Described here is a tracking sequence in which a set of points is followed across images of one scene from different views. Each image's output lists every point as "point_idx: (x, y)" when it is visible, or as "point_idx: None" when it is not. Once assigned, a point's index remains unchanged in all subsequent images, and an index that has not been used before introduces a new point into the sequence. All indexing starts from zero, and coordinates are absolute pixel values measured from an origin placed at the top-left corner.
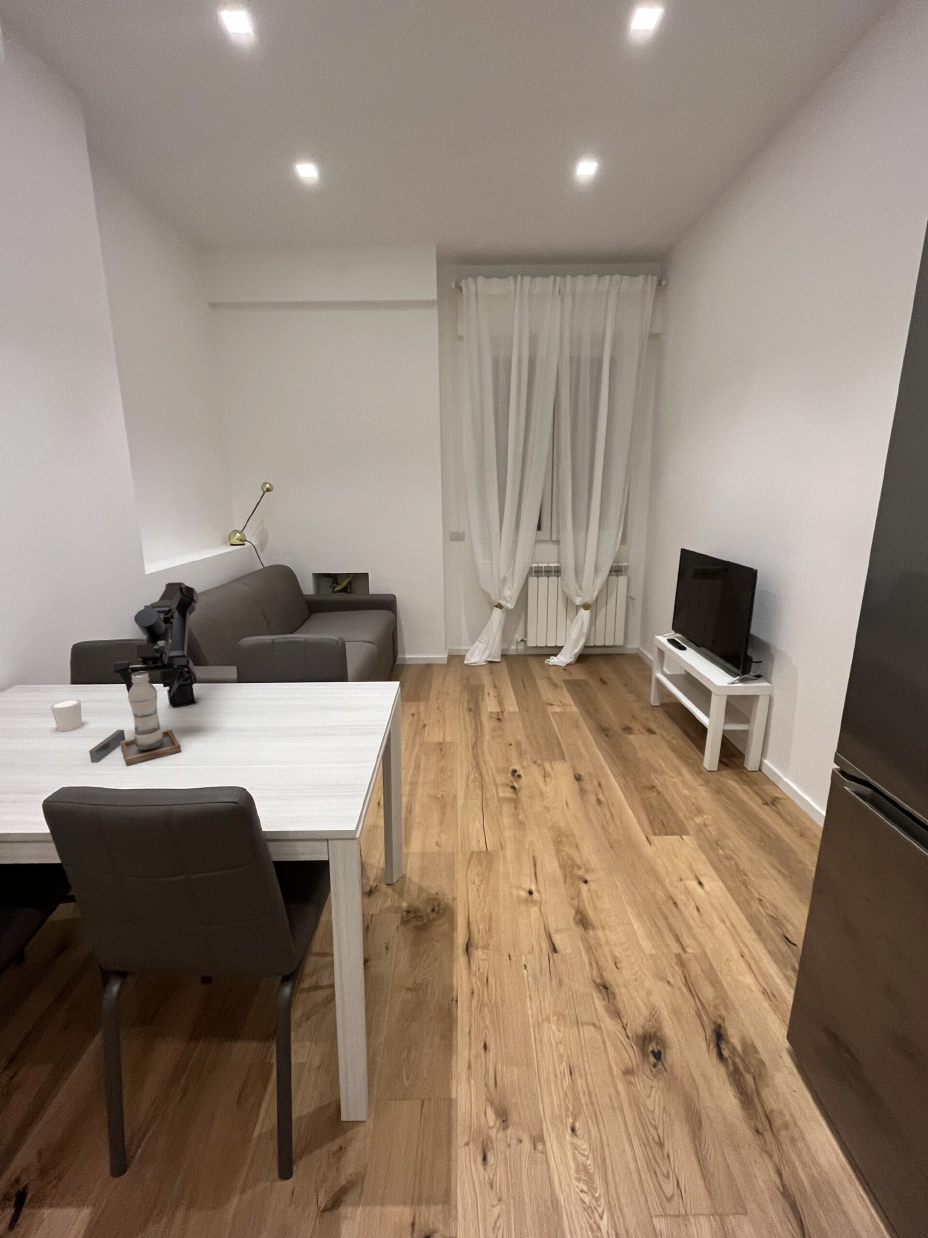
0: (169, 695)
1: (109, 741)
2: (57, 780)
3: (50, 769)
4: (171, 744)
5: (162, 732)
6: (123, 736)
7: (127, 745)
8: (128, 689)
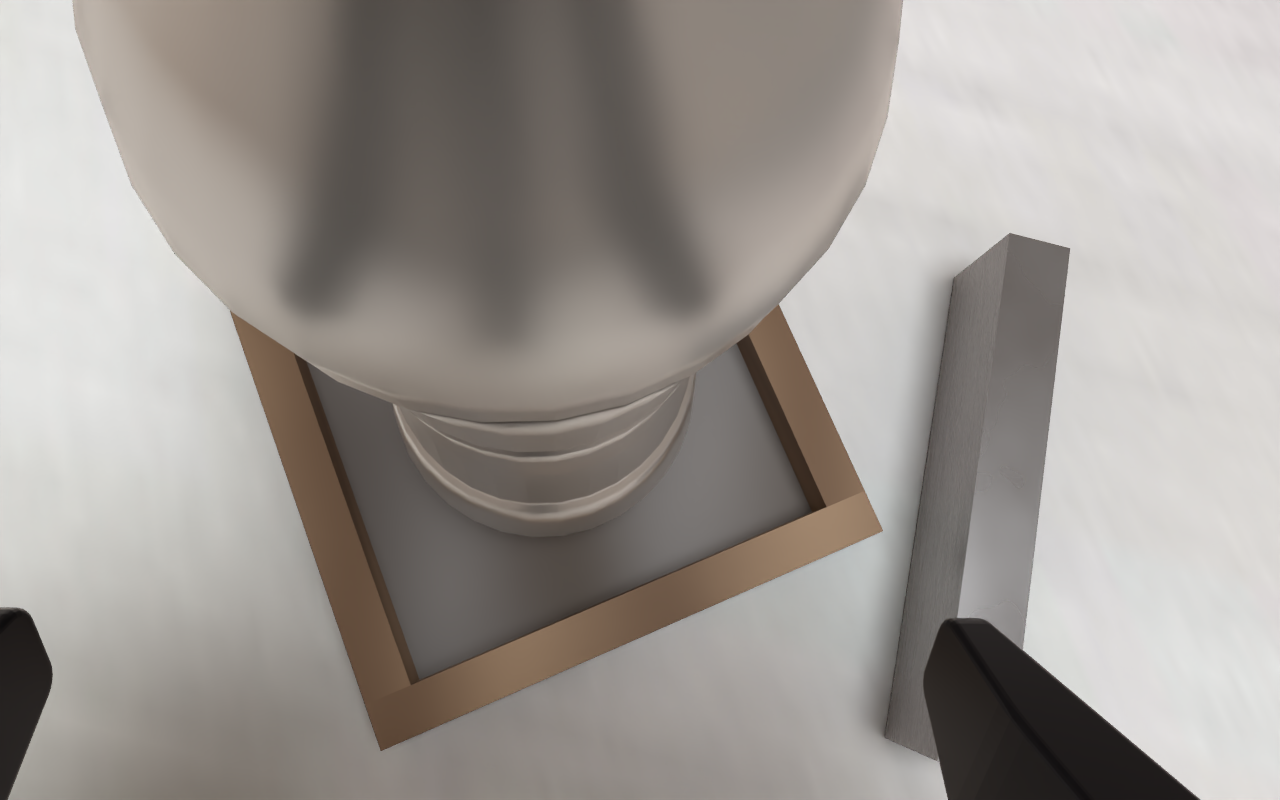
0: (8, 613)
1: (972, 464)
2: (1116, 45)
3: (1274, 250)
4: (345, 427)
5: (393, 409)
6: (909, 718)
7: (797, 517)
8: (1156, 792)
